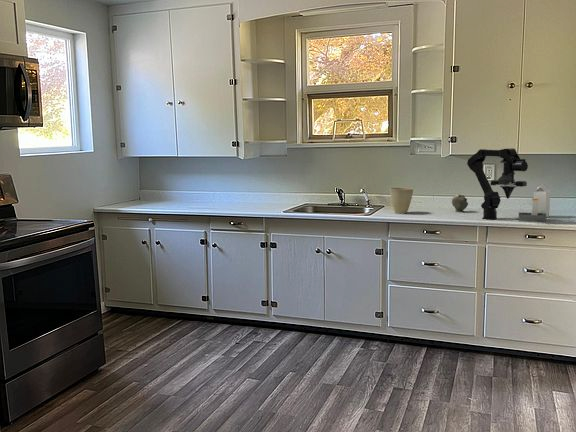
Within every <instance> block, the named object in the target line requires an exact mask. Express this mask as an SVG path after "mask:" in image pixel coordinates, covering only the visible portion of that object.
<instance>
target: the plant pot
mask: <svg viewBox="0 0 576 432" xmlns="http://www.w3.org/2000/svg"><path fill="white" fill-rule="evenodd" d="M413 192H414V188H411V187H390V188H389V196H390V199H391V205H392V207H393V211H394V213H395V214H397V213H406V214H407V213H408V211H409V209H410V205H411V202H412V199H413Z"/></svg>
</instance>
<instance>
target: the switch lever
mask: <svg viewBox="0 0 576 432" xmlns="http://www.w3.org/2000/svg"><path fill="white" fill-rule="evenodd" d="M530 213H531V215H538V198H534V197H531V212H530Z"/></svg>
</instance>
